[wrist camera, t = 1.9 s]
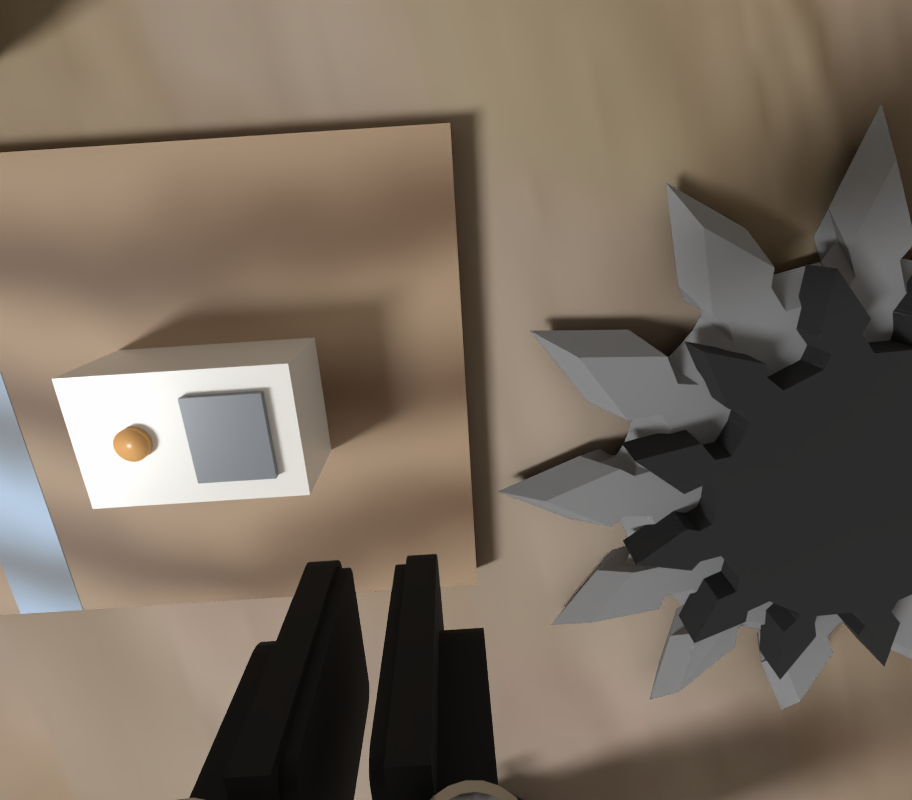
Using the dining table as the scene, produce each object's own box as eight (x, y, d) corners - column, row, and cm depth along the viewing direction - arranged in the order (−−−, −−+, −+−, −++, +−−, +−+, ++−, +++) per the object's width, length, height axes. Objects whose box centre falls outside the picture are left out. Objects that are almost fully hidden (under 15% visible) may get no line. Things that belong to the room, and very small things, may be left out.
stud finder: (118, 350, 22) (45, 381, 18) (314, 337, 22) (285, 365, 18) (148, 461, 24) (88, 512, 20) (331, 449, 24) (308, 498, 20)
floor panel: (-307, 177, 21) (-351, 175, 20) (449, 127, 21) (450, 122, 20) (-101, 605, 28) (-125, 623, 26) (475, 568, 27) (477, 584, 26)
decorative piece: (908, 827, 29) (383, 646, 25) (855, 758, 33) (392, 589, 28) (1443, 312, 20) (785, -122, 16) (1289, 296, 24) (720, -59, 19)
